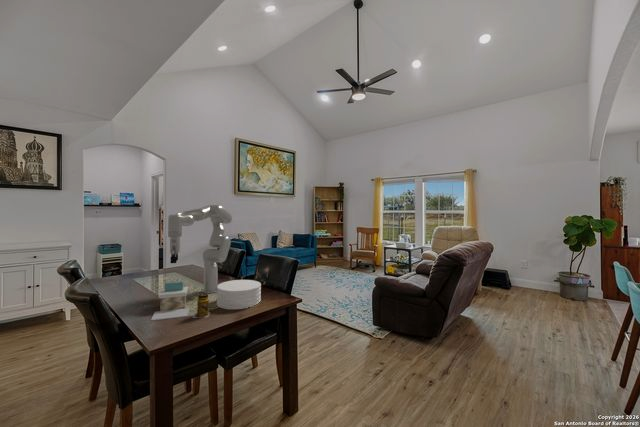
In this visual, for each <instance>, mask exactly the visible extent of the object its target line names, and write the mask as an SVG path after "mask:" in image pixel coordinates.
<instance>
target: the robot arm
mask: <svg viewBox="0 0 640 427" xmlns="http://www.w3.org/2000/svg"><path fill="white" fill-rule="evenodd" d="M208 218H210V222H211V223H212V229H213V230H212V233H211V236H210V238H209V244H208V245H209V247H211V248H207V249H205V250H204V251H203V252H202V259H203V260H202V261H203V288H202V289H201V294H214V292H215V293H217V286H218V285H219V284H218V277H219V276H218V269H219V268H218V264H217V263H224V262H225V261H226V260H227V257H228V254H229V251H230V247H231V244H232V241H231V238H230V237H229V236H227V235H225V231H226V230H225V229H226V228H225V226H224V225H223V224H230V223H232V220H233V215H232V214H231V213H230V212H229V211H228V210H227V209H226V208H225V207H223V206H222V205H220V204H218V205H217V204H209V205H205V206H202V207H199V208H195V209H191V210H183V211H181V212H177V213H175V214H170V215H168V221H167V222H168V224H167V237H168V238H169V252H170V264H177V261H178V260H179V253H180V250H181V238H182V237H183V236H182V229H183V227H190V226H192V225H194V223H195V222H198V221H199V222H200V221H204V220H206V219H208Z"/></svg>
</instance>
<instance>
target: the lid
mask: <svg viewBox="0 0 640 427" xmlns="http://www.w3.org/2000/svg"><path fill="white" fill-rule="evenodd" d="M188 290H189V286H188V285H186V286H184V281H179V280H177V281H169V282H168V281H167V282H165V283H164V287H162V288H161V289H160V291H159V293H158V299H161V298H170V297H181V296H186V297H187V295H188Z"/></svg>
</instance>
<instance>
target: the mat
mask: <svg viewBox="0 0 640 427" xmlns="http://www.w3.org/2000/svg"><path fill="white" fill-rule="evenodd" d="M189 312H190V308H189V307H185V308H184V309H175V310H165V311H160V310H159V311H154V313H153V315H152V317H151V318H150V321H151V322H153V321H154V322H155V321H164V320H172V319H180V318H188V317H189Z"/></svg>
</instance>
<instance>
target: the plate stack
mask: <svg viewBox="0 0 640 427" xmlns="http://www.w3.org/2000/svg"><path fill="white" fill-rule="evenodd" d="M261 290H262V283H261V282H260V281H257V280H253V279H235V280H228V281H227V280H226V281H222V282H221V283H219V284H218V286H217V292H216V306H218V307H219V308H221V309H225V310H243V309H244V308H245V309H249V308H248V307H250V308H252V306H253V307H255V306H254V305H256V304H258V303H259V302H260V301H261V302H262V300H261V298H262V296H261V294H262V293H261V292H262V291H261ZM261 302H260V303H261ZM260 303H259V304H260ZM259 304H258V305H259ZM256 306H257V305H256Z"/></svg>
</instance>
